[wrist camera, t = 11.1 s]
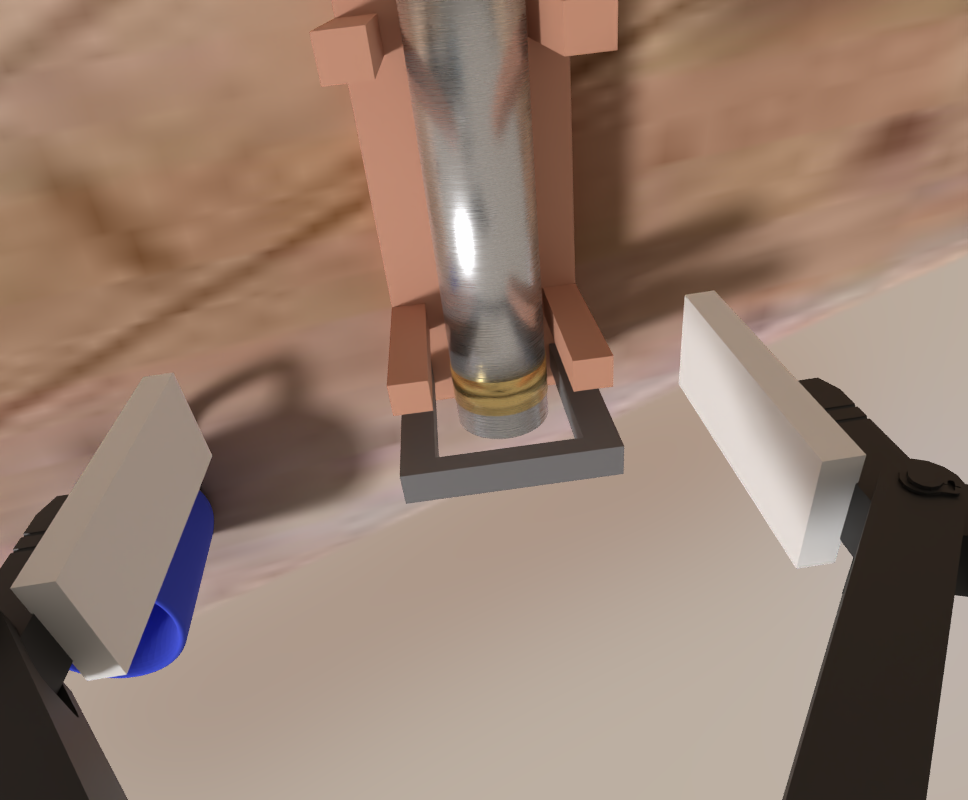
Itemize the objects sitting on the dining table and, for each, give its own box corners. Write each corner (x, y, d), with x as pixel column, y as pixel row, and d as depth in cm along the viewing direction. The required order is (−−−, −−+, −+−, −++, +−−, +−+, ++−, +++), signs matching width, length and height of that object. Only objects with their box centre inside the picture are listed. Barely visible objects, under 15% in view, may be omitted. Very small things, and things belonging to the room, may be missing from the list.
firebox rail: (308, -136, 26) (245, -202, 16) (557, -165, 26) (642, -247, 16) (411, 390, 39) (410, 522, 30) (572, 368, 40) (622, 493, 30)
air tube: (374, -1, 26) (428, -5, 22) (484, -15, 28) (551, -22, 24) (442, 407, 37) (486, 451, 33) (517, 377, 39) (567, 416, 35)
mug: (223, 411, 39) (172, 529, 31) (231, 552, 46) (190, 680, 37) (76, 399, 38) (-19, 519, 29) (106, 546, 44) (34, 678, 36)
